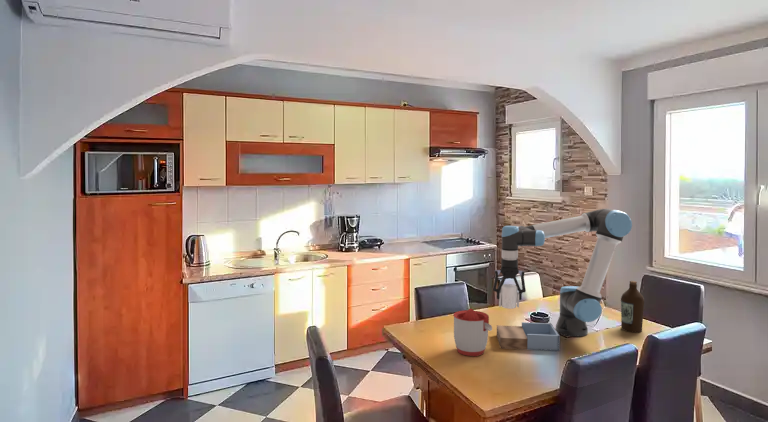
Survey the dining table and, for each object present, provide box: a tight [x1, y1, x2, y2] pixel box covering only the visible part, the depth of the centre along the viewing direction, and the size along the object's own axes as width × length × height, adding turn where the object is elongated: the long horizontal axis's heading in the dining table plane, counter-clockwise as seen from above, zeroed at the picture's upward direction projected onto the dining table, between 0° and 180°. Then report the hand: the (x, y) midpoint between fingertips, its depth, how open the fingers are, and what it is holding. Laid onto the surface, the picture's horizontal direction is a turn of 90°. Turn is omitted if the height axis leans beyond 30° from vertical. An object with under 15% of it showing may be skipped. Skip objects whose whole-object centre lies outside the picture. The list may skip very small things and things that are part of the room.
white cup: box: [500, 283, 519, 310], centre depth 224 cm, size 8×8×10 cm
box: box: [521, 321, 561, 352], centre depth 223 cm, size 14×18×7 cm
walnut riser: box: [496, 324, 528, 351], centre depth 225 cm, size 12×18×5 cm, turn 172°
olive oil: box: [620, 280, 645, 333], centre depth 241 cm, size 11×11×25 cm
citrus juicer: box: [453, 308, 493, 357], centre depth 212 cm, size 16×17×20 cm
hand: (508, 306), depth 225 cm, fingers closed on white cup, 7 cm apart
